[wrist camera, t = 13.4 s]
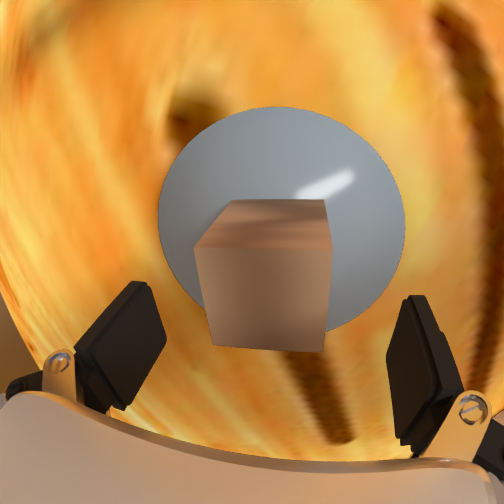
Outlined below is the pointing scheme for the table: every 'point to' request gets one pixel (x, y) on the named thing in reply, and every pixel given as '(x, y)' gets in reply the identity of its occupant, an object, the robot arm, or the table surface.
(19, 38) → the table surface
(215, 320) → the walnut block
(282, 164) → the dish
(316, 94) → the table surface
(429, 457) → the robot arm
